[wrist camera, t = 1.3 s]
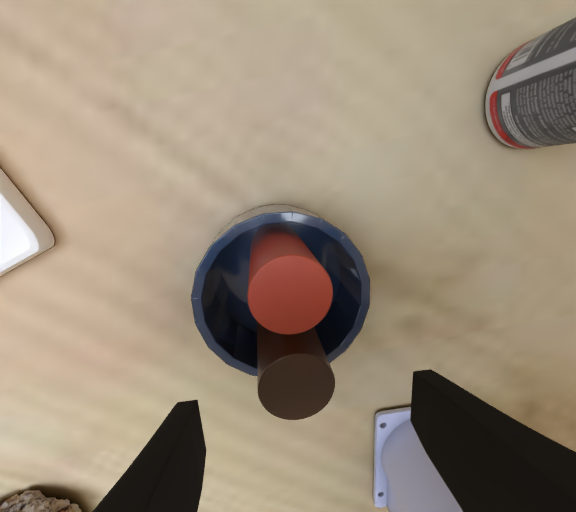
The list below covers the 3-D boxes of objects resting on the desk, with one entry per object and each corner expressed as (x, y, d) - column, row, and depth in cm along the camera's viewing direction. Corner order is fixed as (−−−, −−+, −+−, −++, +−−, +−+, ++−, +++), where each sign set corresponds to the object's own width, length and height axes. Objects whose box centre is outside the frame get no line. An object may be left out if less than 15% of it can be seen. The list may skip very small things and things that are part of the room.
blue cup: (345, 329, 20) (369, 367, 16) (216, 344, 19) (205, 388, 15) (344, 199, 17) (371, 205, 13) (196, 210, 17) (177, 220, 12)
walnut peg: (304, 324, 19) (336, 415, 11) (258, 329, 18) (261, 425, 11) (302, 281, 18) (334, 349, 11) (254, 285, 18) (253, 359, 10)
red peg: (301, 268, 18) (334, 330, 10) (253, 273, 17) (252, 339, 10) (299, 220, 17) (332, 250, 10) (248, 224, 17) (242, 259, 9)
